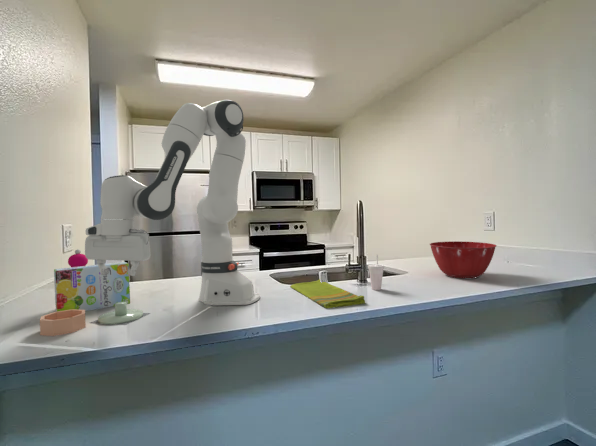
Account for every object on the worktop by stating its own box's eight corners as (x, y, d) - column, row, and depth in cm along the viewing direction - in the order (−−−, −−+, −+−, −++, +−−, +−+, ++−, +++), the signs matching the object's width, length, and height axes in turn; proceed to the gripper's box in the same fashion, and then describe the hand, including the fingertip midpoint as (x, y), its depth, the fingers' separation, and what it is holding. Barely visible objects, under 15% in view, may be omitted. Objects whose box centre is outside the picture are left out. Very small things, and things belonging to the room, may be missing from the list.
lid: (151, 312, 105) (151, 298, 104) (124, 325, 93) (123, 309, 93) (118, 311, 107) (118, 297, 107) (88, 323, 95) (87, 308, 95)
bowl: (94, 325, 95) (93, 310, 95) (62, 338, 85) (62, 321, 85) (65, 324, 97) (64, 308, 97) (31, 336, 87) (30, 319, 87)
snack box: (126, 302, 121) (125, 261, 121) (130, 305, 117) (129, 262, 116) (55, 314, 108) (53, 268, 107) (56, 317, 103) (54, 270, 103)
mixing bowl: (503, 283, 139) (502, 247, 139) (430, 280, 149) (430, 246, 149) (490, 272, 166) (490, 241, 165) (429, 269, 176) (429, 241, 175)
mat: (150, 315, 104) (150, 313, 104) (125, 326, 93) (125, 324, 93) (117, 313, 106) (117, 311, 106) (89, 324, 96) (89, 322, 96)
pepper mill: (88, 301, 123) (87, 247, 123) (93, 304, 118) (91, 249, 118) (65, 305, 118) (63, 249, 118) (69, 308, 113) (67, 250, 113)
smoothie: (386, 290, 130) (385, 255, 130) (370, 291, 130) (369, 255, 130) (382, 287, 137) (381, 253, 136) (366, 287, 137) (366, 254, 136)
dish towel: (325, 310, 107) (325, 300, 107) (289, 288, 141) (289, 281, 140) (366, 305, 113) (366, 295, 113) (322, 285, 146) (321, 277, 146)
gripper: (155, 229, 100) (155, 274, 100) (97, 228, 104) (97, 272, 104) (141, 229, 94) (141, 278, 94) (80, 229, 98) (80, 275, 98)
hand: (118, 275), depth 99 cm, fingers open, 8 cm apart
